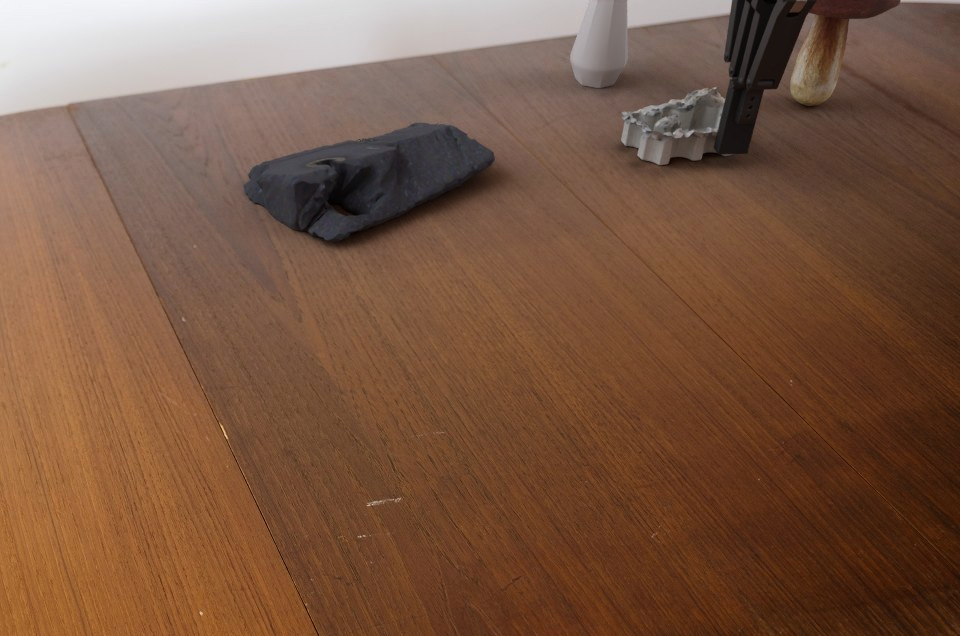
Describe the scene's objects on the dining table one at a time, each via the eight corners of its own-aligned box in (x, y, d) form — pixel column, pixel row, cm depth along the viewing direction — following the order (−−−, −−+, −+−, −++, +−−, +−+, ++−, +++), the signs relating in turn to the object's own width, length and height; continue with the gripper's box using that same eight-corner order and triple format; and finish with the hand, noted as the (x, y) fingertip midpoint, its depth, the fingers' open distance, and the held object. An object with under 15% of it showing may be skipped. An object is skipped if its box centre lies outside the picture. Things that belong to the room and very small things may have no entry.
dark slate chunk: (518, 187, 114) (525, 139, 111) (319, 255, 106) (320, 205, 102) (417, 126, 124) (420, 80, 121) (227, 184, 116) (226, 136, 112)
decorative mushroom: (804, 135, 121) (850, -23, 111) (727, 93, 128) (764, -58, 118) (889, 112, 124) (941, -43, 114) (809, 73, 131) (851, -76, 122)
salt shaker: (580, 94, 129) (601, -35, 120) (558, 72, 133) (577, -54, 125) (632, 88, 130) (657, -41, 121) (609, 66, 134) (631, -59, 125)
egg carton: (712, 124, 123) (722, 84, 120) (749, 157, 117) (760, 116, 115) (610, 134, 122) (618, 94, 119) (643, 169, 116) (652, 127, 113)
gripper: (727, -143, 105) (670, 121, 120) (780, -98, 95) (711, 184, 110) (816, -145, 105) (748, 119, 120) (878, -100, 95) (795, 182, 110)
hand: (730, 150), depth 115 cm, fingers closed
